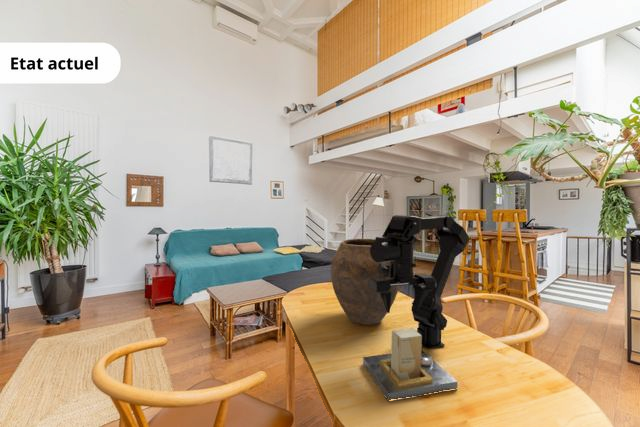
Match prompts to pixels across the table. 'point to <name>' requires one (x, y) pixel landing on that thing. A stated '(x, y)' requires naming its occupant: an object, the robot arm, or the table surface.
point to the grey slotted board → (393, 388)
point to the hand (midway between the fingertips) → (402, 311)
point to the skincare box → (406, 354)
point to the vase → (358, 282)
